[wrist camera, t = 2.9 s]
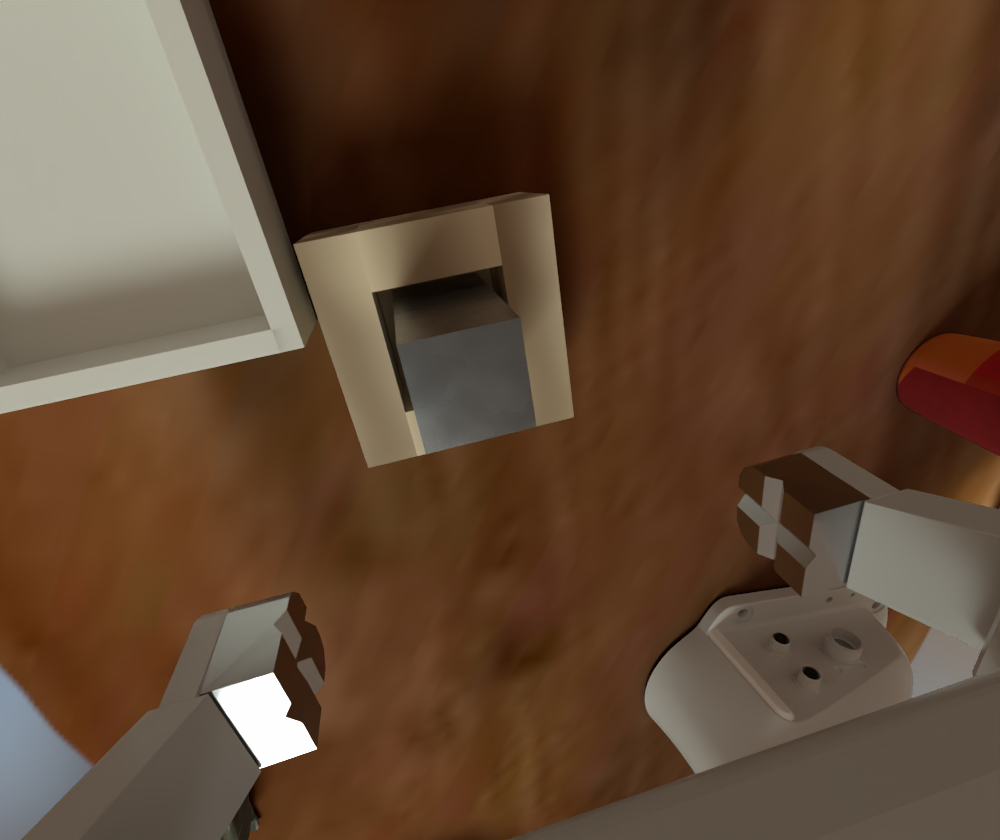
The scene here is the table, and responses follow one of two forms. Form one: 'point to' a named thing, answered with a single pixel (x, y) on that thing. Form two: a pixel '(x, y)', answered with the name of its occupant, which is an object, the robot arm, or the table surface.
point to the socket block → (425, 258)
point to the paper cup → (956, 386)
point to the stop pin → (462, 361)
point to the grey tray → (131, 204)
